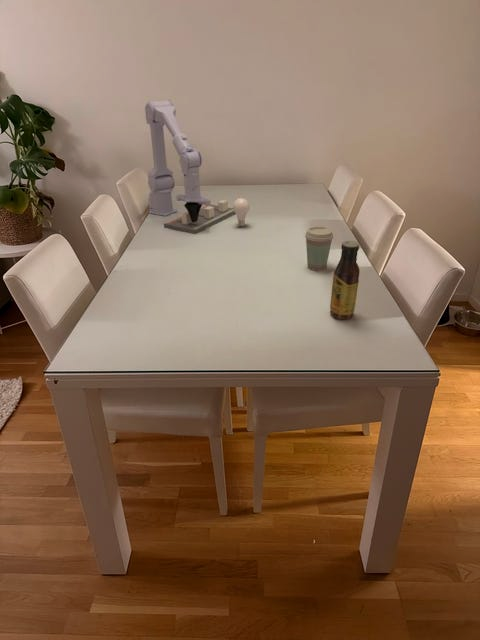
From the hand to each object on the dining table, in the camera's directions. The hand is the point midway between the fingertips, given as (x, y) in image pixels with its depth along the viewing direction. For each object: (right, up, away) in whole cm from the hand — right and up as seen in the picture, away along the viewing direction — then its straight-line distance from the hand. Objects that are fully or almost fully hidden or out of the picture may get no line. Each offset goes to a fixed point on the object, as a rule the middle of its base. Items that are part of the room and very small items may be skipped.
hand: (194, 221), depth 178 cm
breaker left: (+10, +8, +15) cm, 20 cm away
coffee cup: (+42, -21, -31) cm, 56 cm away
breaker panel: (+2, +3, +10) cm, 11 cm away
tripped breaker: (-3, 0, +2) cm, 4 cm away
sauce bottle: (+44, -37, -58) cm, 81 cm away
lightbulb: (+18, -2, +3) cm, 18 cm away
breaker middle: (+5, +3, +8) cm, 10 cm away
